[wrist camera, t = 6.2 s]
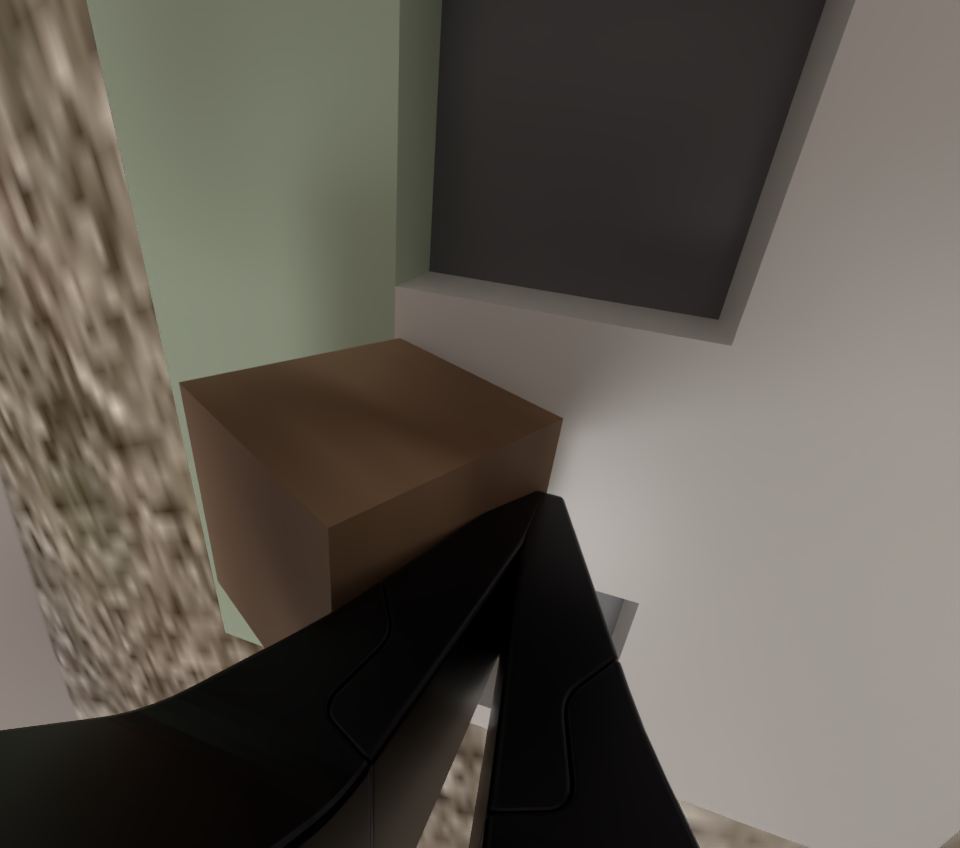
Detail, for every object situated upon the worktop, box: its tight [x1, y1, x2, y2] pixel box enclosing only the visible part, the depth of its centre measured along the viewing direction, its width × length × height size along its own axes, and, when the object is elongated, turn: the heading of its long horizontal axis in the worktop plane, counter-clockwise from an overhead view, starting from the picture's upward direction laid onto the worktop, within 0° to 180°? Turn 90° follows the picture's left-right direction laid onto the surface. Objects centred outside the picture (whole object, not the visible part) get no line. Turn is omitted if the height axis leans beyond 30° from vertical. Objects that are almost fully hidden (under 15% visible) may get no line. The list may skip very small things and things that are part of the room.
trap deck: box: [87, 0, 960, 848], centre depth 11 cm, size 20×19×2 cm
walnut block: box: [179, 338, 563, 648], centre depth 8 cm, size 4×4×4 cm
